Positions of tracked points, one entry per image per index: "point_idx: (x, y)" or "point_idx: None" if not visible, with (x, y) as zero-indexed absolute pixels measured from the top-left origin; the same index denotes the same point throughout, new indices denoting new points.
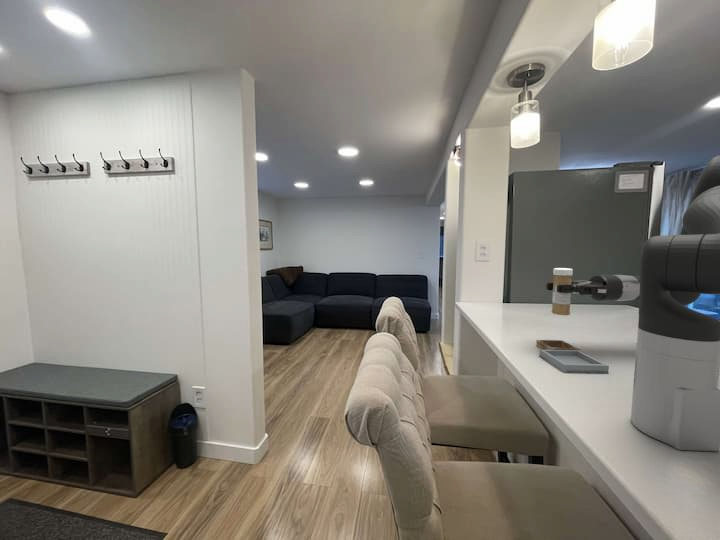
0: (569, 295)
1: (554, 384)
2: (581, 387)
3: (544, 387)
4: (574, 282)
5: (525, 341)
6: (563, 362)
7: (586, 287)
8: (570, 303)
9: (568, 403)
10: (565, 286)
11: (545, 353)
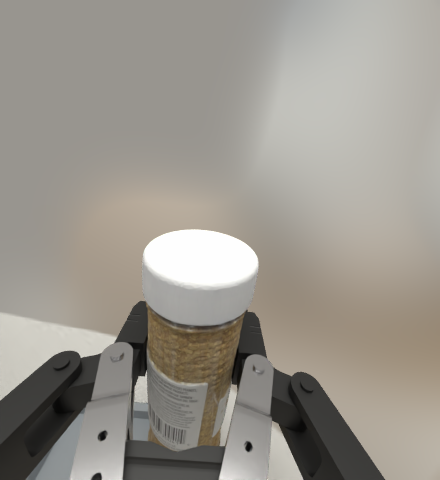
0: (147, 387)
1: (51, 353)
2: (9, 392)
3: (55, 334)
4: (226, 449)
5: (284, 457)
6: None
7: (29, 385)
8: (157, 438)
9: (5, 335)
10: (141, 318)
11: (140, 403)
